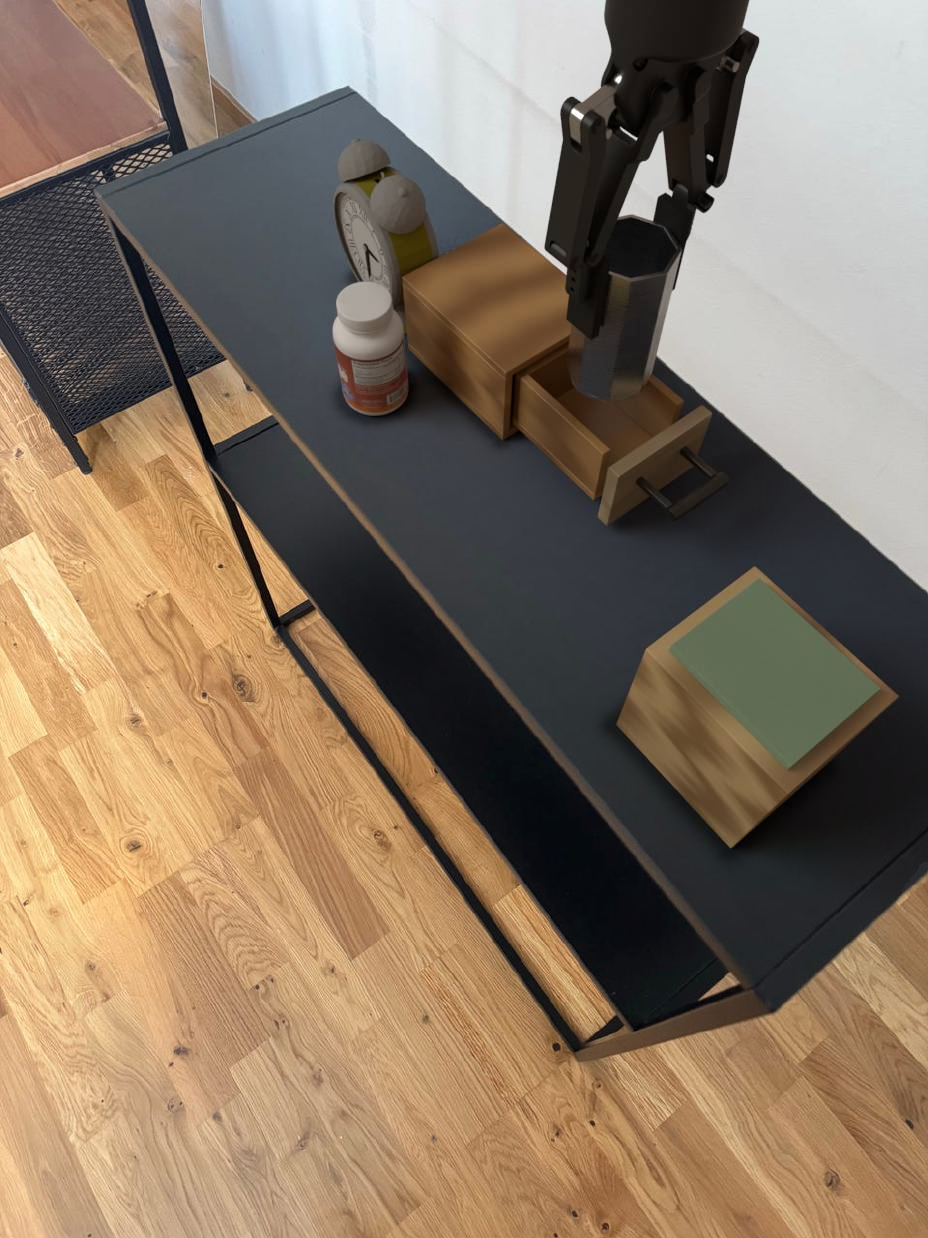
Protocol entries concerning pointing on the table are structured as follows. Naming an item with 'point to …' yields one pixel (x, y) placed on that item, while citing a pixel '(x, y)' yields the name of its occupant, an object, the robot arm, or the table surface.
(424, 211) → the alarm clock
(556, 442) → the drawer
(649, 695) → the stand
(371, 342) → the pill bottle
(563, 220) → the robot arm
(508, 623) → the table surface
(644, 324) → the metal cup
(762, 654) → the mat
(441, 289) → the cabinet
